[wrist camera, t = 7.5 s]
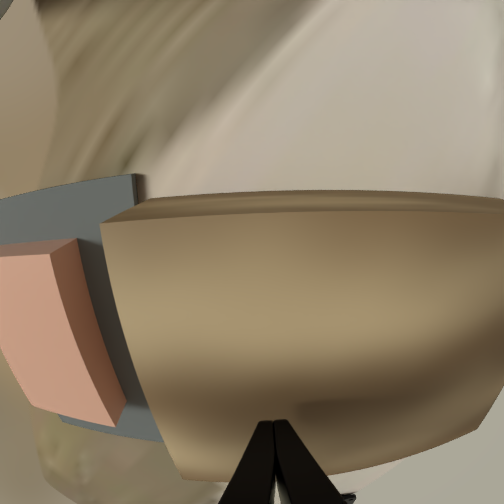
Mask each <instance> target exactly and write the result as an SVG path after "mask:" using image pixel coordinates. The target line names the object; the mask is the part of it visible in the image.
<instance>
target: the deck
mask: <svg viewBox="0 0 504 504" xmlns="http://www.w3.org/2000/svg"><path fill="white" fill-rule="evenodd" d="M100 230H101V237H102V242H103V248H104V253H105V259H106V264H107V269H108V273H109V278H110V282H111V287H112V291H113V295H114V299H115V303H116V307H117V311H118V315H119V318H120V322H121V326H122V329H123V333H124V336H125V339H126V343H127V346H128V349H129V352H130V355H131V358H132V362H133V364H134V367H135V370H136V373H137V376H138V379H139V382H140V384H141V387H142V390H143V392H144V395H145V398H146V400H147V403H148V405H149V408H150V410H151V413H152V415H153V418H154V420H155V422H156V425H157V427H158V429H159V431H160V434H161V436H162V438H163V440H164V442H165V445H166V447H167V449H168V451H169V453H170V455H171V457H172V459H173V461H174V463H175V465H176V467H177V469H178V471H179V473H180V475H181V477H182V479H184V480H195V481H210V482H230V480H231V478H232V476H233V474H234V472H235V470H236V468H237V466H238V464H239V462H240V460H241V458H242V456H243V454H244V451H245V449H246V447H247V445H248V443H249V441H250V439H251V437H252V434H253V432H254V430H255V428H256V426H257V424H258V422H259V421H264V420H271V421H274V420H279V419H287V420H288V421H289V423H290V424H291V426H292V427H293V429H294V430H295V431H296V433H297V434H298V436H299V437H300V439H301V440H302V442H303V443H304V445H305V446H306V447H307V449H308V450H309V452H310V453H311V455H312V456H313V457H314V459H315V460H316V462H317V463H318V464H319V466H320V467H321V469H322V470H323V471H324V473H325V474H326V475H327V476H328V475H334V474H340V473H345V472H350V471H355V470H360V469H364V468H369V467H373V466H377V465H381V464H385V463H388V462H392V461H395V460H399V459H402V458H405V457H408V456H411V455H414V454H418V453H420V452H423V451H426V450H429V449H432V448H434V447H437V446H439V445H442V444H444V443H447V442H449V441H452V440H454V439H456V438H459V437H461V436H463V435H465V434H468V433H470V432H472V431H474V430H476V429H477V428H478V427H479V425H480V424H481V422H482V421H483V419H484V418H485V416H486V415H487V413H488V412H489V410H490V408H491V407H492V405H493V403H494V402H495V400H496V398H497V397H498V395H499V393H500V391H501V390H502V388H503V386H504V200H503V199H497V198H488V197H477V196H466V195H453V194H438V193H421V192H399V191H365V190H294V191H258V192H235V193H217V194H201V195H187V196H174V197H162V198H151V199H148V200H146V201H144V202H142V203H140V204H137V205H135V206H133V207H131V208H129V209H127V210H125V211H123V212H121V213H119V214H117V215H115V216H113V217H111V218H109V219H107V220H105V221H104V222H102V223H100Z"/></svg>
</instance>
